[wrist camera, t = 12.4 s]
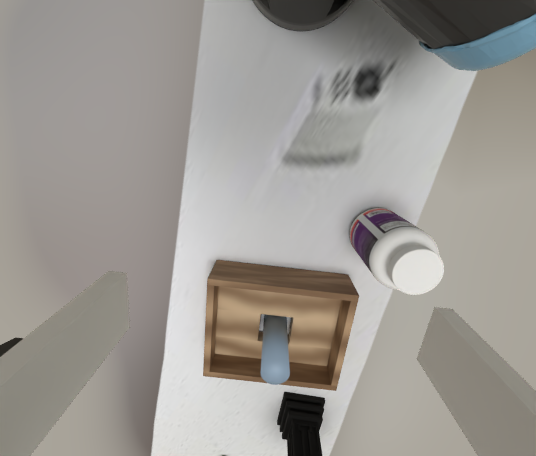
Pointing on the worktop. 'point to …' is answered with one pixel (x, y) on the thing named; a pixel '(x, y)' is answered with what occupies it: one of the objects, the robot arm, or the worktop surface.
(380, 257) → the pill bottle
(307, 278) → the box
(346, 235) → the worktop surface
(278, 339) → the peg
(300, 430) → the chess piece
